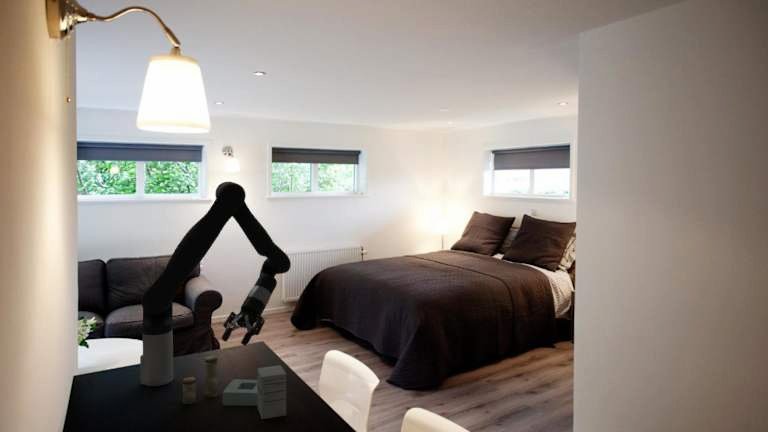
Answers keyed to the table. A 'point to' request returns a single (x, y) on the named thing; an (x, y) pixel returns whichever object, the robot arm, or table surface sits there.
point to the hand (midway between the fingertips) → (233, 342)
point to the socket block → (241, 393)
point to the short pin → (189, 390)
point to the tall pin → (211, 376)
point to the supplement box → (271, 391)
